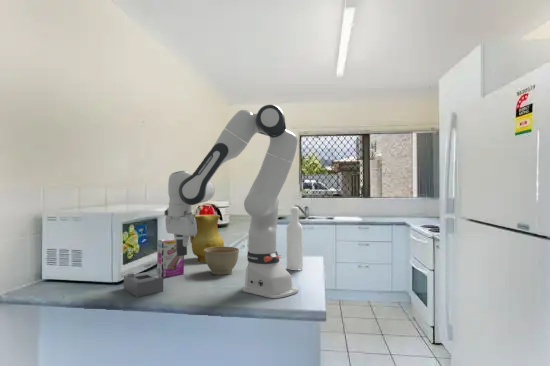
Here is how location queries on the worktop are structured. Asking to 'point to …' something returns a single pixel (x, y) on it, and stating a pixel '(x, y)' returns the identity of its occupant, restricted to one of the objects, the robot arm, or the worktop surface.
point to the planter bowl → (221, 259)
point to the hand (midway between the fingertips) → (181, 245)
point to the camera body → (143, 283)
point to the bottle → (294, 242)
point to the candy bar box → (169, 259)
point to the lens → (180, 246)
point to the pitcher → (206, 235)
